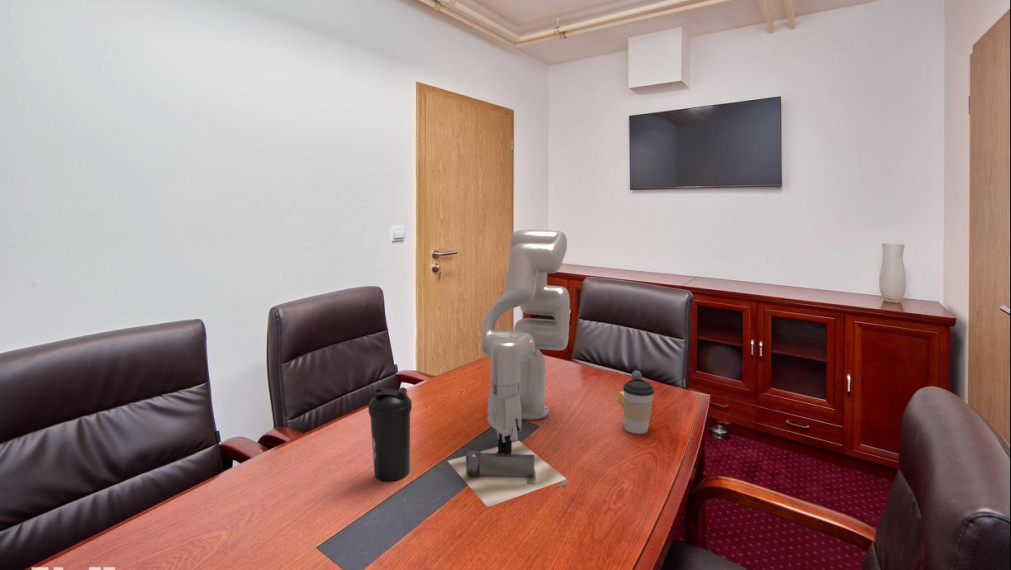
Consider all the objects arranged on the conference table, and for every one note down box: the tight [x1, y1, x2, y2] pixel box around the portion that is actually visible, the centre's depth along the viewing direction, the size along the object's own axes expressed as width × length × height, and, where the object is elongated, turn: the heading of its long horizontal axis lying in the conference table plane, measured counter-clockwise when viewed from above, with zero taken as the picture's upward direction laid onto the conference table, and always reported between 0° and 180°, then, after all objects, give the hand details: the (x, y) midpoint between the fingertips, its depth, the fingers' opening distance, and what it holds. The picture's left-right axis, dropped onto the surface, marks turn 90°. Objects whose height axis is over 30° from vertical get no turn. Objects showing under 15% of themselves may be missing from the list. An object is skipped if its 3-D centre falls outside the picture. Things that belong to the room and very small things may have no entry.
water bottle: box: [367, 386, 413, 483], centre depth 116 cm, size 10×10×23 cm
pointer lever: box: [465, 449, 534, 477], centre depth 116 cm, size 17×4×5 cm, turn 87°
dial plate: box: [447, 440, 568, 508], centre depth 119 cm, size 22×22×2 cm
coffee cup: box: [622, 378, 655, 435], centre depth 144 cm, size 9×9×15 cm
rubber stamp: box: [618, 370, 653, 407], centre depth 163 cm, size 10×6×12 cm, turn 100°
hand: (504, 453), depth 123 cm, fingers closed
